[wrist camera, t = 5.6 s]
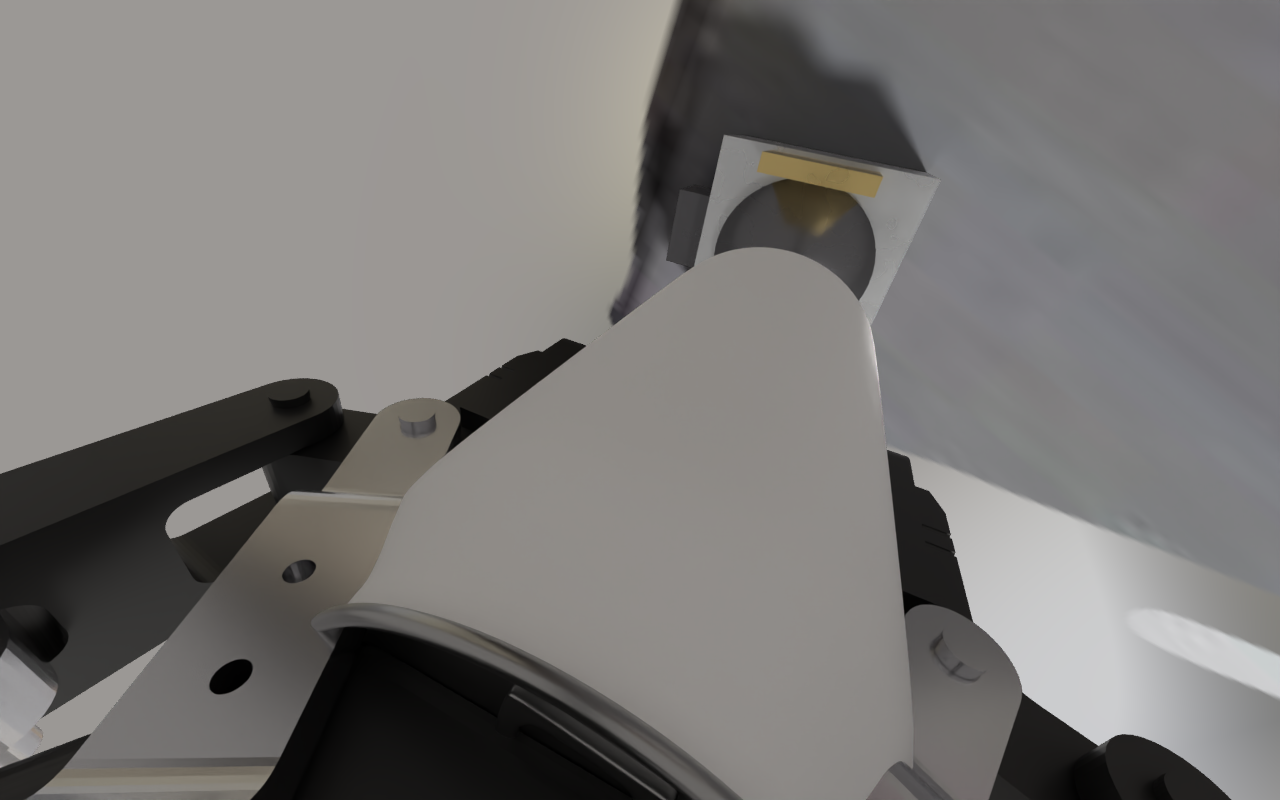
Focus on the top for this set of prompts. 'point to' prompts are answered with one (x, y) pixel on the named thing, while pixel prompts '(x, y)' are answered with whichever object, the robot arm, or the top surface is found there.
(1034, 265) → the top surface
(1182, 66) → the top surface
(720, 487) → the can
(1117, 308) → the top surface
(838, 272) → the motor housing
